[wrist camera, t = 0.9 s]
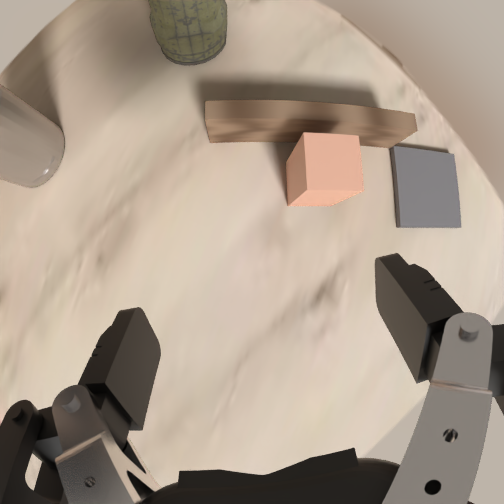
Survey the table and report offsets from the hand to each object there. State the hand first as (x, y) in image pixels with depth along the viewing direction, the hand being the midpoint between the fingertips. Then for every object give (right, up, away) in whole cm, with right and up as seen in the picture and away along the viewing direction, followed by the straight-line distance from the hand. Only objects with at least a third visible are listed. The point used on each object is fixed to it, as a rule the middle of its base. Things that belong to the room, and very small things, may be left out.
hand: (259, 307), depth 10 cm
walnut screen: (+6, +15, +25) cm, 30 cm away
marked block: (+6, +9, +25) cm, 28 cm away
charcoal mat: (+22, +10, +26) cm, 35 cm away
